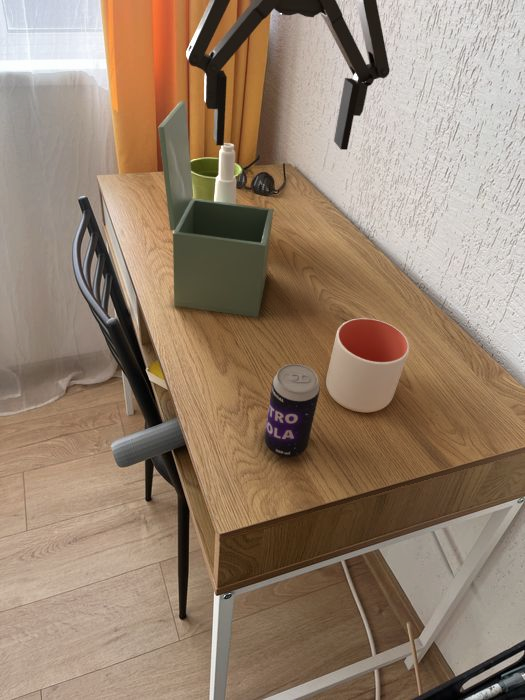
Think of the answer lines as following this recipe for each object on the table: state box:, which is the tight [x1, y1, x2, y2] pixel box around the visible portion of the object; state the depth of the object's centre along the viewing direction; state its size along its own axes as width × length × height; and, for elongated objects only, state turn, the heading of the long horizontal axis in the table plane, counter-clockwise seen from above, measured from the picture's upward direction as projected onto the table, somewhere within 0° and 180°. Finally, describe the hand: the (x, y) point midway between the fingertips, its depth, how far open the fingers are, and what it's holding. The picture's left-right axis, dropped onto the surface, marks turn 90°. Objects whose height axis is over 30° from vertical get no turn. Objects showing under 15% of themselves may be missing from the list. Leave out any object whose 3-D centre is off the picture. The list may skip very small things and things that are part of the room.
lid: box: [157, 100, 194, 232], centre depth 82 cm, size 15×14×1 cm
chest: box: [172, 197, 274, 318], centre depth 91 cm, size 15×14×14 cm
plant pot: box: [190, 157, 243, 201], centre depth 114 cm, size 12×12×11 cm
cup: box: [325, 317, 410, 413], centre depth 75 cm, size 10×10×10 cm
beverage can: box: [264, 363, 321, 458], centre depth 65 cm, size 6×6×12 cm
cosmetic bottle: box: [214, 142, 237, 204], centre depth 98 cm, size 6×6×22 cm
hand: (280, 143), depth 57 cm, fingers open, 13 cm apart
